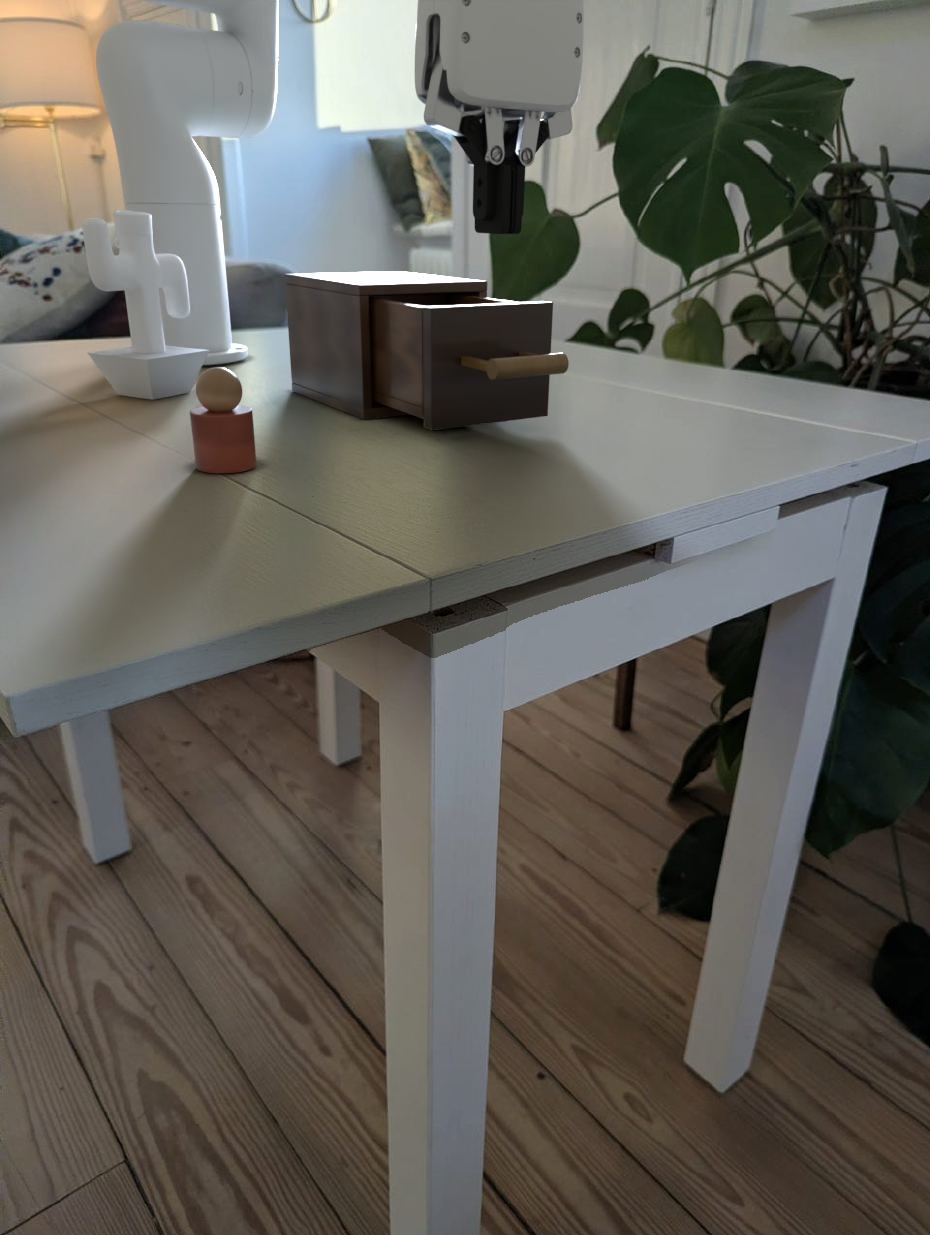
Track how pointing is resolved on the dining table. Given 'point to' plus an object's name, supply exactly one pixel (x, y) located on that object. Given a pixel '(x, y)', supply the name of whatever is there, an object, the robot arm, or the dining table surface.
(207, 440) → the peg doll
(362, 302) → the cabinet
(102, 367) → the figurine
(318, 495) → the dining table surface
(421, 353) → the drawer
